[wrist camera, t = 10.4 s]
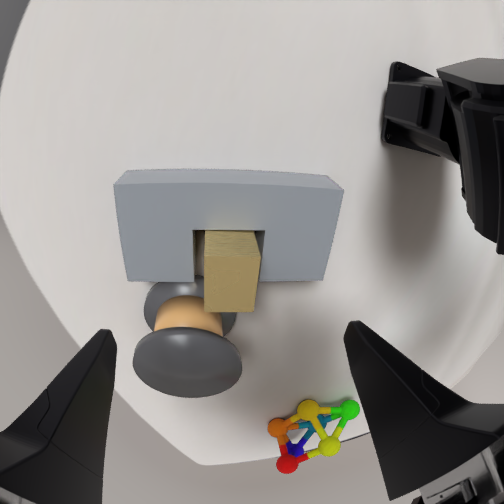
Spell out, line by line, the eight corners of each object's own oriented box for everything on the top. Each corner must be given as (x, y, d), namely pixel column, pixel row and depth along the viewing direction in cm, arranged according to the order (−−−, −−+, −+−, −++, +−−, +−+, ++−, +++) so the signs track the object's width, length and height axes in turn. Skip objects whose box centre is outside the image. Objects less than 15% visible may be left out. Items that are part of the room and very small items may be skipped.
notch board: (327, 175, 20) (344, 190, 17) (311, 258, 23) (322, 280, 21) (126, 170, 18) (113, 184, 15) (136, 257, 21) (127, 281, 19)
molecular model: (332, 393, 45) (283, 460, 40) (297, 369, 42) (241, 443, 37) (378, 413, 34) (322, 492, 29) (346, 389, 32) (278, 482, 27)
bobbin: (236, 274, 23) (245, 335, 18) (232, 339, 27) (239, 396, 22) (138, 273, 22) (121, 333, 16) (152, 339, 26) (144, 395, 21)
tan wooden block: (248, 211, 21) (260, 257, 15) (243, 258, 23) (253, 311, 18) (205, 210, 20) (204, 256, 15) (204, 258, 22) (204, 312, 17)
